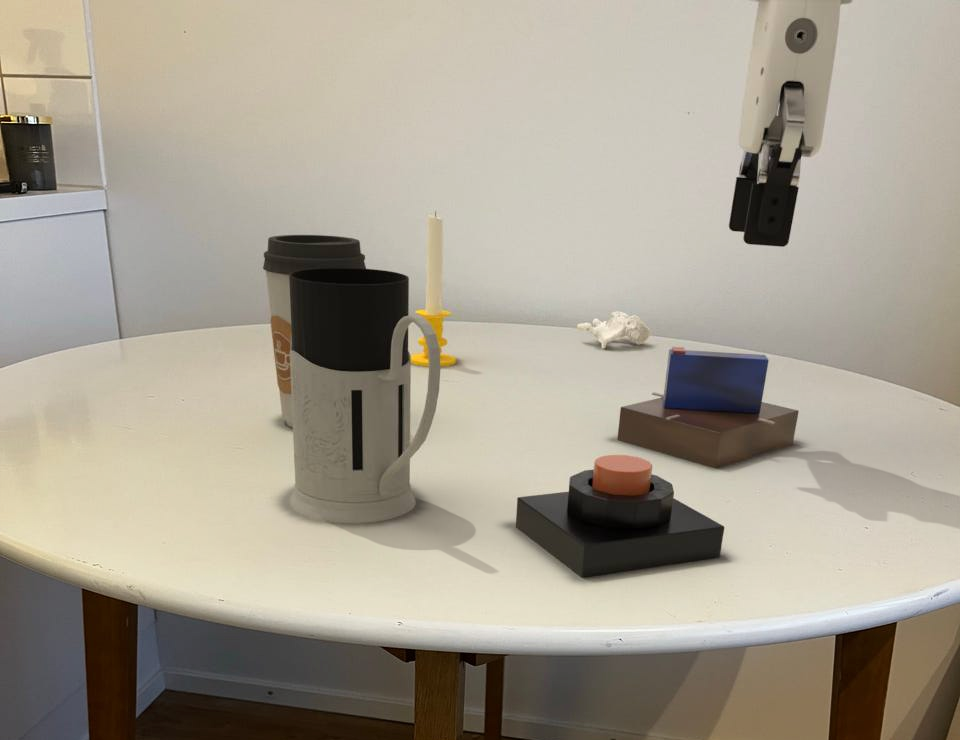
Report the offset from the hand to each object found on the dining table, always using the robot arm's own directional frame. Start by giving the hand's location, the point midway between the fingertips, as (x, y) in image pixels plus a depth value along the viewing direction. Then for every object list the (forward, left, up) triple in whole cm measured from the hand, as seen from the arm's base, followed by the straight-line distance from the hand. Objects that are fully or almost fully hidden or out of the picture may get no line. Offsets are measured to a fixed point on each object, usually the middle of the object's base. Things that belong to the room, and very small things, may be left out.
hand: (756, 238), depth 79 cm
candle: (+11, -38, -17) cm, 43 cm away
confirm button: (+20, +16, -13) cm, 29 cm away
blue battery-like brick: (0, -2, -14) cm, 14 cm away
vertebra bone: (-15, -42, -17) cm, 48 cm away
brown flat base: (0, -2, -17) cm, 17 cm away
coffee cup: (+30, -17, -17) cm, 39 cm away
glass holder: (+33, +6, -17) cm, 38 cm away
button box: (+20, +16, -17) cm, 31 cm away
